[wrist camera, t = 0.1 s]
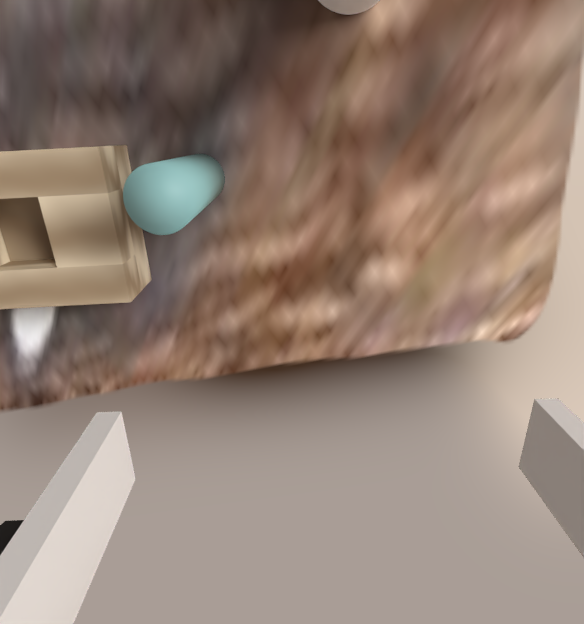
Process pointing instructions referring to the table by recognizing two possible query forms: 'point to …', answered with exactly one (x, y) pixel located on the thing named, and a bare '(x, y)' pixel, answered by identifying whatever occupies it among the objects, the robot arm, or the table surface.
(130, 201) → the pin
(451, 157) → the table surface
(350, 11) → the cylindrical container
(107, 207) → the block
